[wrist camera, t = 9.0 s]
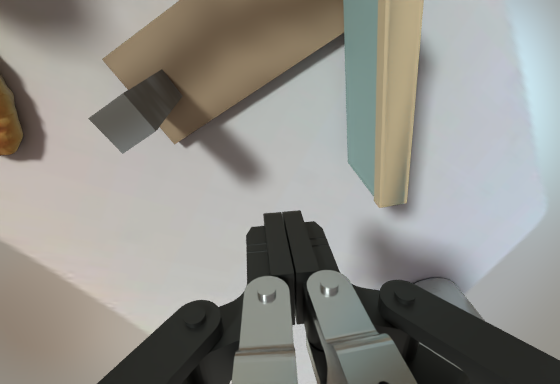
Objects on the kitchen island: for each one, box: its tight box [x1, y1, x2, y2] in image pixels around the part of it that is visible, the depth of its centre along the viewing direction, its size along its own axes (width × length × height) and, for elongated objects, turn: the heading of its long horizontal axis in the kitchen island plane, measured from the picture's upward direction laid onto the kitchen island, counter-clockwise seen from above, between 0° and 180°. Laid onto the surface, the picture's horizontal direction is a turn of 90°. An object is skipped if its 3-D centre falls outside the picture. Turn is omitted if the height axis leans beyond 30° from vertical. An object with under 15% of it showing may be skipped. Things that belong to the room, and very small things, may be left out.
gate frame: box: [88, 0, 344, 154], centre depth 19 cm, size 8×21×10 cm, turn 121°
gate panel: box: [343, 0, 424, 208], centre depth 22 cm, size 2×14×8 cm, turn 8°
